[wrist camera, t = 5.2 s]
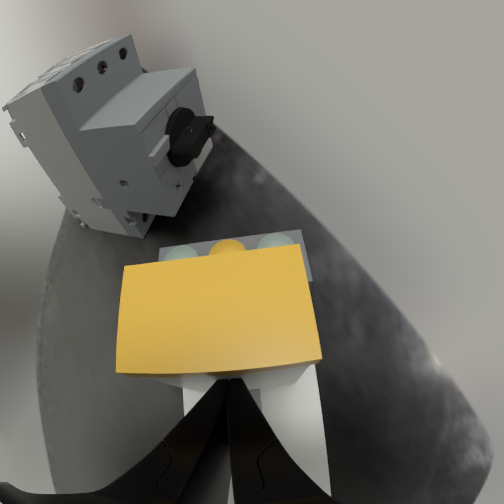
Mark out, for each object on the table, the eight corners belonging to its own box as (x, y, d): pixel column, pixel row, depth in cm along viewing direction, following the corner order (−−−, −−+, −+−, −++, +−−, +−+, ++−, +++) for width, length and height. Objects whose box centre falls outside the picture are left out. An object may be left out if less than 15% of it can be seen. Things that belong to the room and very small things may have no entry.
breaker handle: (296, 385, 13) (322, 358, 6) (200, 394, 13) (115, 372, 6) (288, 330, 15) (299, 243, 8) (198, 340, 15) (124, 266, 8)
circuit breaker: (210, 251, 21) (140, 51, 8) (82, 227, 24) (0, 108, 11) (238, 181, 24) (209, 16, 12) (117, 173, 27) (62, 59, 15)
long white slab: (332, 580, 6) (348, 625, 1) (219, 588, 6) (198, 632, 1) (295, 276, 19) (301, 219, 14) (187, 290, 19) (154, 240, 14)
